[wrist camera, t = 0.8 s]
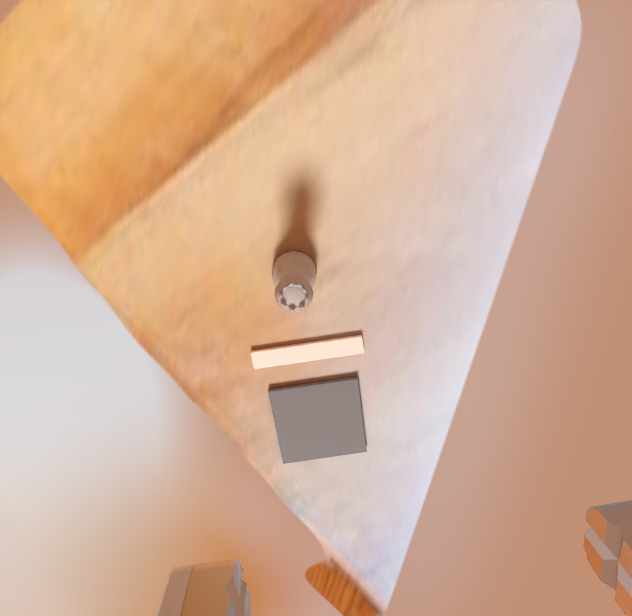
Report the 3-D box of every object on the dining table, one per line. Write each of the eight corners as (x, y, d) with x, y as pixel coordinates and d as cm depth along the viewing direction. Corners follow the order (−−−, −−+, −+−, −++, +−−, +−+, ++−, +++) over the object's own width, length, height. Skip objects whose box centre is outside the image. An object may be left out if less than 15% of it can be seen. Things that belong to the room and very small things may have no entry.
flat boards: (251, 350, 45) (250, 353, 45) (361, 334, 45) (362, 336, 45) (275, 461, 51) (275, 464, 50) (374, 447, 51) (374, 450, 50)
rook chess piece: (304, 242, 42) (306, 262, 34) (323, 281, 43) (329, 309, 36) (264, 261, 42) (257, 285, 35) (284, 299, 44) (282, 330, 36)
